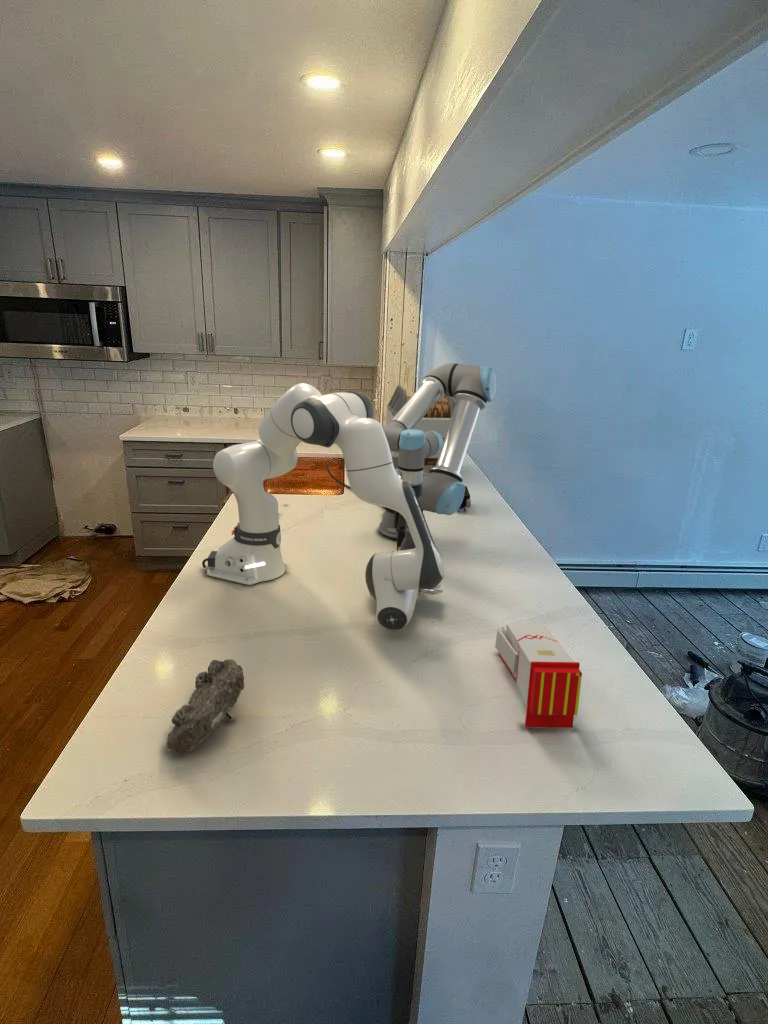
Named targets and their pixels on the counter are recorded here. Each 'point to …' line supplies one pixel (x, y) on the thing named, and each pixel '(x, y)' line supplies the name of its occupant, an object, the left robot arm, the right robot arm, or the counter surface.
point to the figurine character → (465, 500)
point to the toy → (541, 674)
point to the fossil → (206, 705)
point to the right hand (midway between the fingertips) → (404, 554)
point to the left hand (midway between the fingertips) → (409, 566)
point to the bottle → (407, 541)
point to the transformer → (423, 419)
